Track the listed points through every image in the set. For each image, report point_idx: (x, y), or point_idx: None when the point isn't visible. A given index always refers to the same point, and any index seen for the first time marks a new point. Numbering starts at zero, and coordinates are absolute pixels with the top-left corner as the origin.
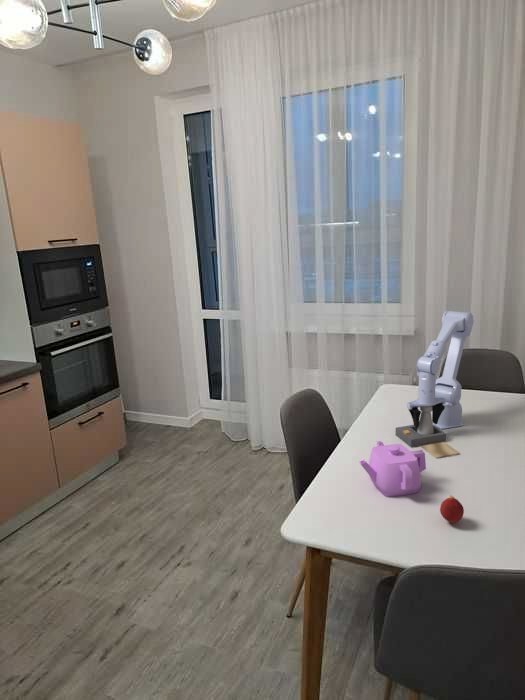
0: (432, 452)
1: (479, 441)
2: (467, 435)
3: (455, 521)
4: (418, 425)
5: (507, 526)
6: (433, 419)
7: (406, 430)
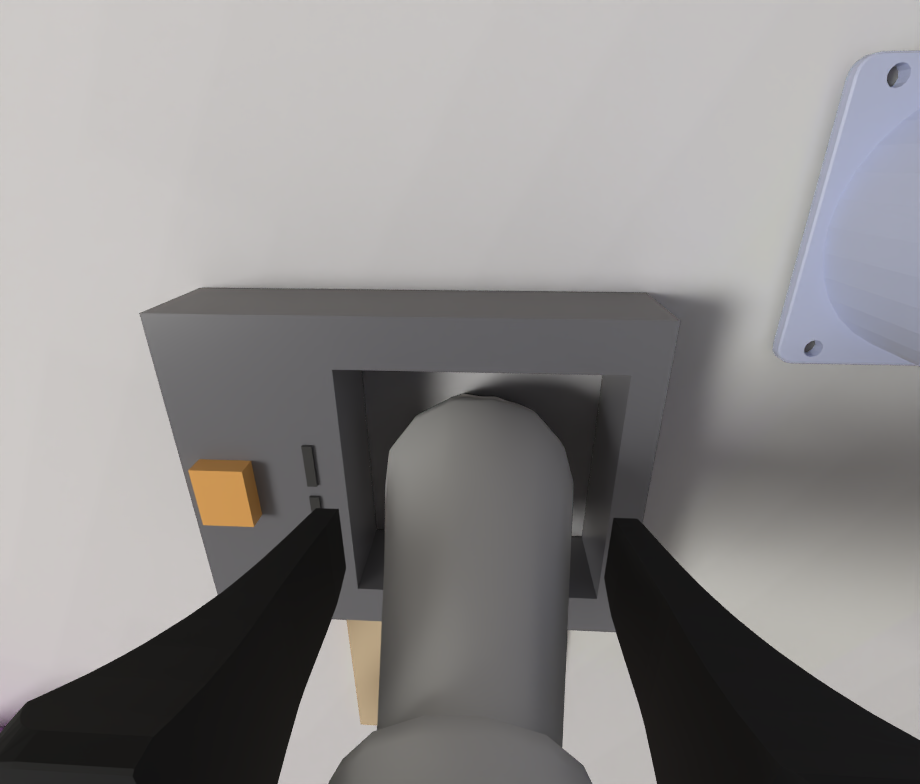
0: (369, 678)
1: (851, 649)
2: (878, 544)
3: None
4: (334, 593)
5: None
6: (624, 569)
7: (227, 478)
